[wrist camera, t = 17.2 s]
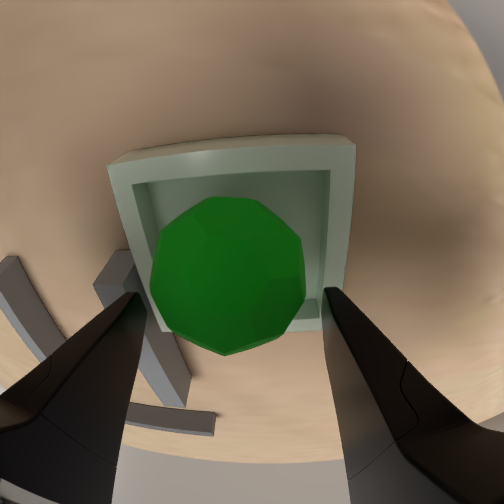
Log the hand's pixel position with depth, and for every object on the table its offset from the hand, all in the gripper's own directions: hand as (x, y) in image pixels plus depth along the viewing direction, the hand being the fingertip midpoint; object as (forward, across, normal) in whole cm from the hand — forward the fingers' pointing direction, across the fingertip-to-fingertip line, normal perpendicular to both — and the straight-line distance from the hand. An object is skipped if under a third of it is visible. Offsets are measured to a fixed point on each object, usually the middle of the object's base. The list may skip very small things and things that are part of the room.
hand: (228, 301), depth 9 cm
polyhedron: (+4, 0, 0) cm, 4 cm away
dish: (+4, 0, 0) cm, 4 cm away
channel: (+4, +10, +8) cm, 14 cm away
